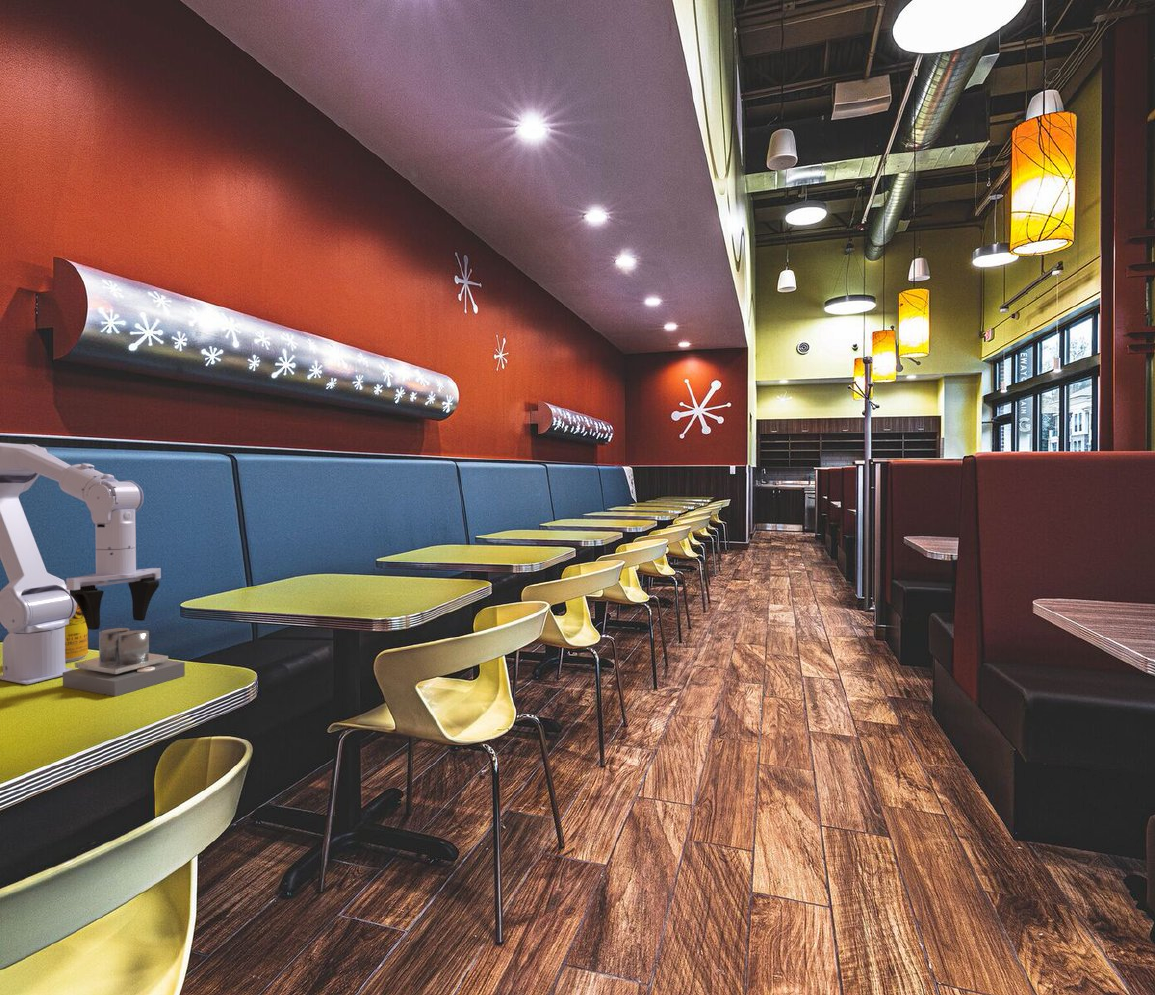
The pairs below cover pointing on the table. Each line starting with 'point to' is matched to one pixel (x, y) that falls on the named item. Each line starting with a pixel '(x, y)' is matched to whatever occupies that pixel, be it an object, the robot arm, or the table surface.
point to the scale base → (123, 678)
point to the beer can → (76, 637)
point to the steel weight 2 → (133, 647)
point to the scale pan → (118, 668)
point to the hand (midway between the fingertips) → (116, 624)
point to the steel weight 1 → (109, 644)
